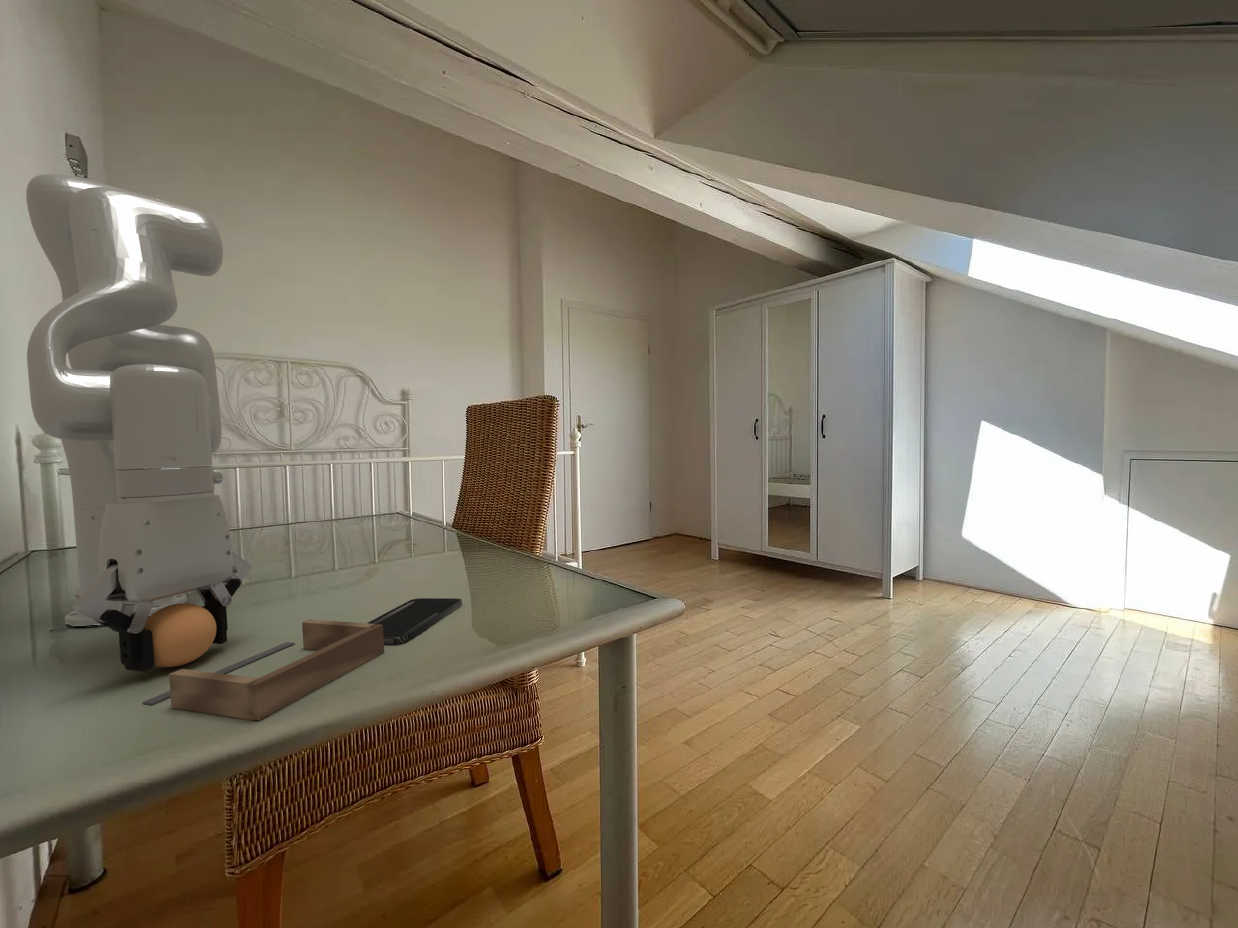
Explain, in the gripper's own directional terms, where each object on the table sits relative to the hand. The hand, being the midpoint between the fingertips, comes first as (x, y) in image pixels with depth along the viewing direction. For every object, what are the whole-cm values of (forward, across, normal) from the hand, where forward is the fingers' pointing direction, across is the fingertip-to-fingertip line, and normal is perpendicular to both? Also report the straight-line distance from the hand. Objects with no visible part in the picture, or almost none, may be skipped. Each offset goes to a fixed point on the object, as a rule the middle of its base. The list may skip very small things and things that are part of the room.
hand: (179, 653), depth 53 cm
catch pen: (+1, 0, +15) cm, 15 cm away
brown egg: (-2, 0, 0) cm, 2 cm away
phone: (+2, -16, +16) cm, 23 cm away
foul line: (+1, 0, +7) cm, 7 cm away
